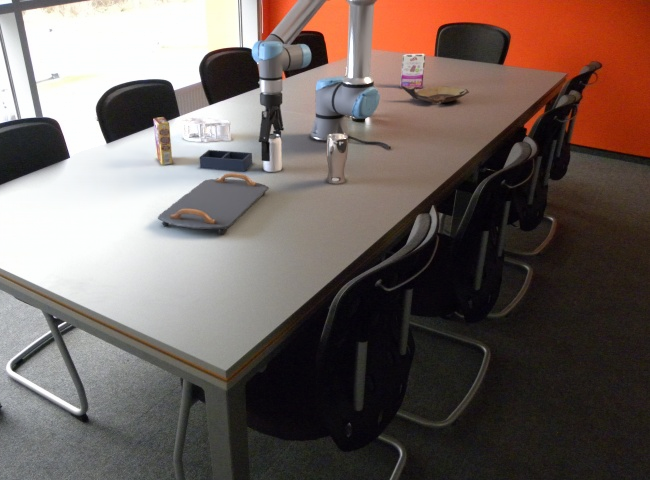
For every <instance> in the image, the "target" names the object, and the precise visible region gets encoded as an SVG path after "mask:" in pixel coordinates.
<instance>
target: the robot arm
mask: <svg viewBox="0 0 650 480" xmlns="http://www.w3.org/2000/svg"><path fill="white" fill-rule="evenodd" d="M327 1H330V0H297V1H296V2H295V3H294V5H293V6H292V7H291V9H290V10H289V11H287V13H286V15H285V16H284V17H283V18H282V19H281V20H280V22H279V23H278V24H277V25H276V26H275V28H273V30H272V31H271V32H270V34H269V35H268V36H267V37H266V38H265V39H262V40H257V41H256V42H254V44H253V46H252V47H251V48H252V49H251V57H252V58H253V60H254V61H255V63H258V66H259V81H258V82H257V83H258V85H259V91H260V93H259V104H260V105H261V106H262V107H263V106H264V108H265V109H264V110H262V111H261V119H260V127H259V136H258V143H260V144H261V145H260V146H261V150H260V151H261V153H260V154H261V162H263V161H270V142H269V137H270V134H271V130H272V128H273V130H272V134H279V135H280V138H281V139H282V131H284V129H285V128H284V123H283V115H282V109H281V105H282V104H283V88H284V87H283V86H284V85H283V83H284V82H283V76H284V75H283V72H287V71H295V70H301V69H304V68H306V67H308V66H309V65H310V64H311V61H312V52H311V49H310V47H309V45H307V44H305V43H297V44H292V43H293V42H294V41H295V40H296V38H297V37H298V36H299V35H300V33H301V32H302V31H303V30H304V28H305V27H306V26H307V25H308V24H309V22H311V20H312V19H313V18H314V16H315V15H316V14H317V13H318V12H319V11H320V9H321V8H322V7H323V5H324V4H325V3H326V2H327ZM345 1H346V2H347V4H348V6H349V7H348V30H347V31H348V32H347V55H346V56H347V58H346V76H330V77H329V76H328V77H323V78H320V79H318V80H317V81H316V86H315V118H314V121H313V124H312V126H311V130H310V139H311V140H313V141H316V142H321V143H327V136H328V135H330V134H337V133H338V134H345V135H347V136H348V139H350V140H352V141H355V142H358V143H361V144H366V145H381V146H383V147H385V148H386V149H388V150H391V148H392V147H391V146H390V145H388V144H387V143H385V142H381V141H375V140H373V141H372V140H371V141H366V140H362V139H359V138H357V137H354V136H351V135H349V134H350V133H349V128H348V125H347V122H346V116H348V117H352V118H354V119H363V120H365V119H368V118H370V117H372V116H373V114H374V113H375V112H376V110H377V108H378V106H379V103H380V99H381V96H380V92H379V90H378V89H377V87H375V79H374V78H373V77H372V76H371V69H372V68H371V67H372V49H373V35H374V33H373V32H374V31H373V30H374V14H375V4H376V3H377V1H378V0H345ZM272 126H273V127H272Z"/></svg>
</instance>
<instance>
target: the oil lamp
mask: <svg viewBox="0 0 650 480" xmlns="http://www.w3.org/2000/svg"><path fill="white" fill-rule="evenodd" d="M401 87H402V88H401ZM400 88H401V89H403V90H404V91H405V92H406V93H407V94H409V96H410V97H412V98H413V99H415V100H423V101H426V102H428V103H434V104H440V103H441V104H444V103H445V104H446V103H450V102H453V101H456V100H457V99H460V98H462V97H464V96H465V95H467V94H469V93H470V91H469V89H466V88H462V87H458V86H433V87H427V88H422V89H419V90H418V91H416V88H415V87H411V88H409V87H406V86H404V85H402V86H401V85H400Z"/></svg>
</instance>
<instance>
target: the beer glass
mask: <svg viewBox="0 0 650 480" xmlns="http://www.w3.org/2000/svg"><path fill="white" fill-rule="evenodd" d="M325 150H326V151H325V153H326V161H327V170H328V171H327V177H326V182H327V183H329V184H332V185H339V184H340V185H341V184H344V183H345V182H346V175H345V168H346V163H347V158H348V153H349V138H348V136H347V135H345V134H338V133H337V134H330V135H328V136H327V142H326V147H325Z"/></svg>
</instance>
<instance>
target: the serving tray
mask: <svg viewBox="0 0 650 480" xmlns="http://www.w3.org/2000/svg"><path fill="white" fill-rule="evenodd" d="M269 189H270V187H269V186H268V185H266V184H262V183H259V182H255V181H253V180H252V179H251V178H250V177H249V176H247V175H245V174H243V173H237V172H229V173H225V174H223V175H222V176H221V177H220V178H219V177H217V178H210V179H209V178H208V179H205V180H203V181H202V182H200V183H199V184H198V185H197V186H195V187H194V188H192V189H191V190H190V191H188V193H186V194H184V195H183V196H182V197H180V198H179V199H178V200H177V201H175V202H174V203H172V204H171V205H170V206H169V207H168V208H167V209H165V210H164V211H163V212H162V213H160V214H159V215H158V216H157V219H158V220H159V221H160V222H161V224H162V225H163V227H164V228H168V227H169V226H170V225H172V226H176V227H181V228H188V229H195V230H217V231H218V233H219V235H221V236H224V235H225V234H226V233H227V229H229V228H230V227H231V226H232V225H234V224H235V223H236V222H237V221H238V220H239V219H240V218H241V217H242V216H243V215H244V214H245V213H246V212H247V211H248V210H249V209H250V208H251V207H252V206H253V205H254V204H255V203H256V202H257V201H258V200H259V199H260V198H261V197H264V196H265V195H266V192H267V191H268V190H269Z"/></svg>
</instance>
